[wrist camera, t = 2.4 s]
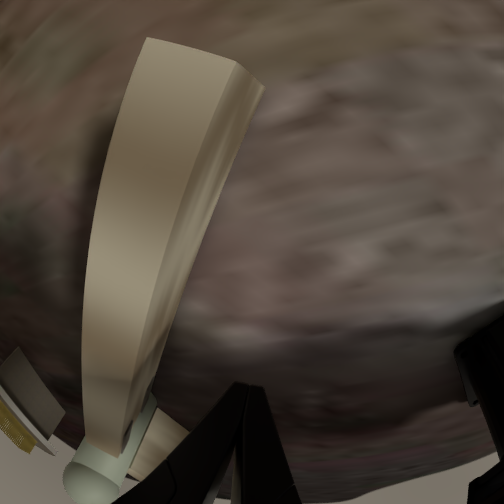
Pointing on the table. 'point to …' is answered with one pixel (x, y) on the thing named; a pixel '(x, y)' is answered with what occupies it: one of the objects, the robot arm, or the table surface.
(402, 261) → the table surface
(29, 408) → the platform
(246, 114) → the cream wooden bar
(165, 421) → the block
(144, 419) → the hinge post
